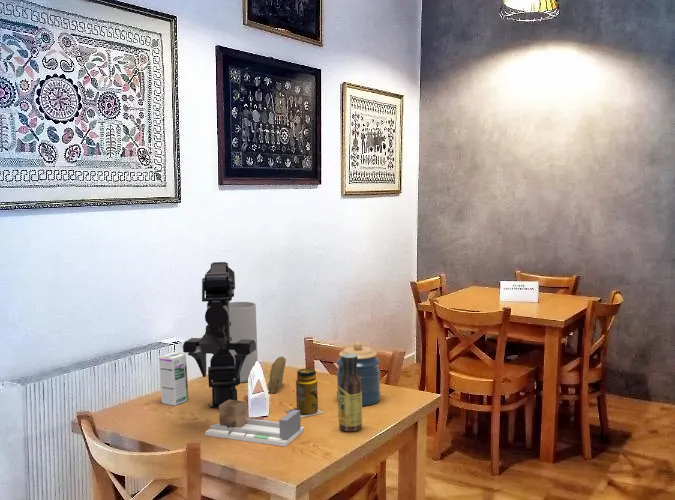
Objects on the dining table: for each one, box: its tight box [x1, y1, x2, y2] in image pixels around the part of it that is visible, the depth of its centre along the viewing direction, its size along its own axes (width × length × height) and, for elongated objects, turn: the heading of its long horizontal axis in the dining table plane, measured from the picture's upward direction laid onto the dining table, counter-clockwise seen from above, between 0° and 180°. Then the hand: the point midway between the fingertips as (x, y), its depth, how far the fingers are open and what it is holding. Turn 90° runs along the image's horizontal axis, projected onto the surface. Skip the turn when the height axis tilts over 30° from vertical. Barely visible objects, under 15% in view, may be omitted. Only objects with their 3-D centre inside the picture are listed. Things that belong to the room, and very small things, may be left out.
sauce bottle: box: [337, 353, 363, 432], centre depth 173 cm, size 6×6×20 cm
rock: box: [267, 356, 287, 394], centre depth 210 cm, size 11×9×10 cm
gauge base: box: [204, 409, 305, 447], centre depth 172 cm, size 23×11×6 cm, turn 68°
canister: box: [336, 341, 381, 407], centre depth 197 cm, size 13×13×18 cm
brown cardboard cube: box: [218, 399, 247, 428], centre depth 173 cm, size 5×8×6 cm, turn 158°
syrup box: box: [158, 352, 189, 407], centre depth 198 cm, size 6×6×14 cm
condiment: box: [285, 368, 324, 419], centre depth 187 cm, size 7×8×12 cm
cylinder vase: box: [229, 301, 258, 384], centre depth 222 cm, size 12×12×25 cm
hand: (220, 377), depth 177 cm, fingers open, 9 cm apart
